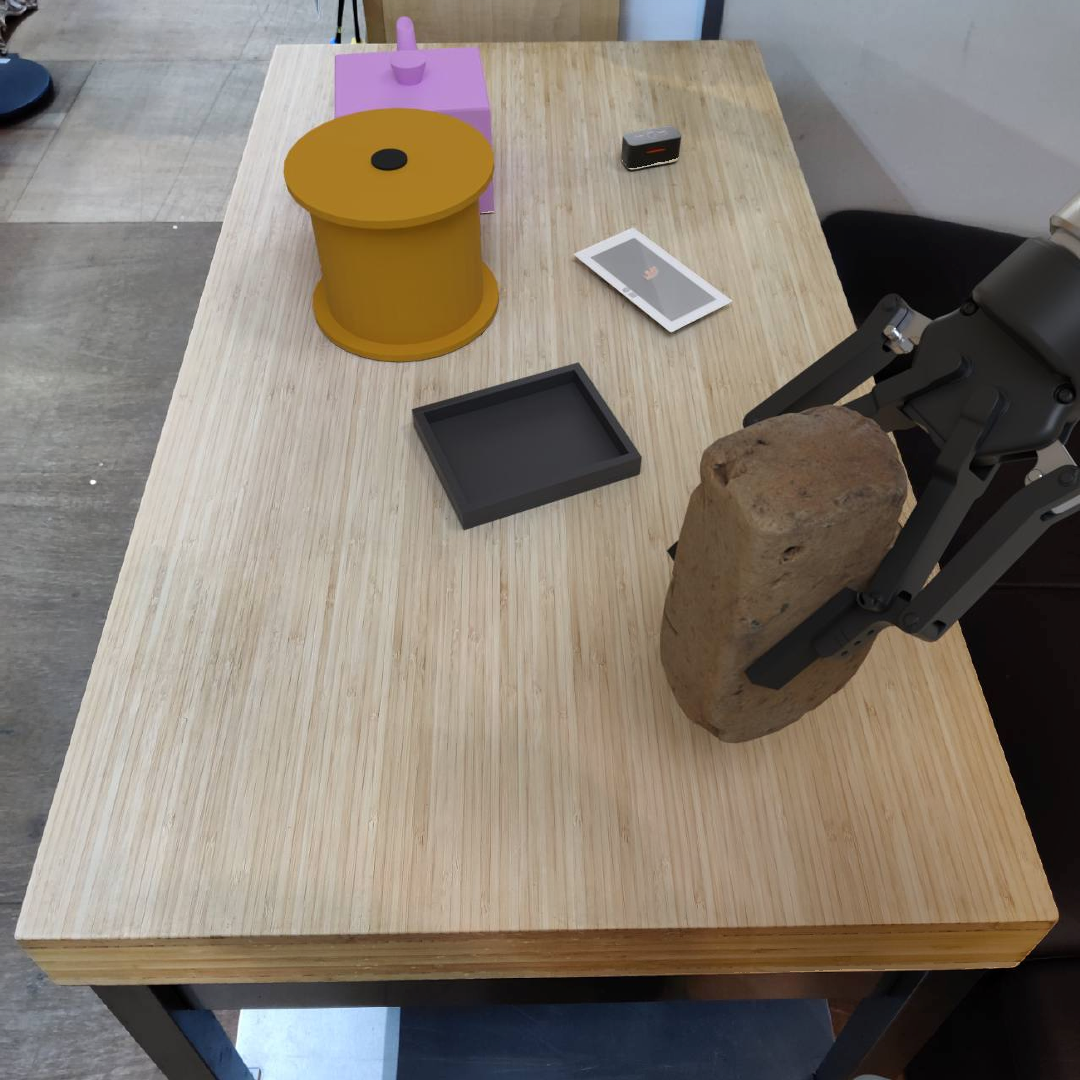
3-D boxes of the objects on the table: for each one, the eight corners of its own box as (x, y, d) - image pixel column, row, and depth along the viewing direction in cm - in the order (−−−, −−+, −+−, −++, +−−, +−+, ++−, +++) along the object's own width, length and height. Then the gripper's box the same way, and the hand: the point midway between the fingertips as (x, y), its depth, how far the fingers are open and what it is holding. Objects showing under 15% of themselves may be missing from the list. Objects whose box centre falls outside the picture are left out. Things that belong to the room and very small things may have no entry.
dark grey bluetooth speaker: (686, 162, 112) (690, 135, 109) (628, 173, 110) (630, 146, 108) (670, 142, 114) (673, 115, 112) (613, 152, 113) (614, 125, 110)
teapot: (477, 118, 118) (472, -6, 107) (498, 240, 102) (494, 109, 91) (350, 125, 116) (331, 1, 105) (352, 250, 101) (329, 119, 90)
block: (695, 765, 55) (757, 542, 40) (643, 657, 60) (681, 419, 44) (863, 709, 58) (985, 478, 42) (801, 610, 62) (890, 367, 46)
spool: (481, 236, 103) (474, 96, 91) (515, 347, 92) (512, 204, 80) (307, 257, 100) (277, 116, 88) (320, 374, 89) (288, 230, 77)
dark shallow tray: (640, 474, 82) (642, 456, 80) (463, 530, 78) (462, 513, 76) (577, 379, 89) (578, 361, 87) (413, 426, 85) (411, 408, 83)
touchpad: (632, 236, 103) (633, 218, 101) (731, 310, 95) (734, 292, 93) (572, 263, 100) (573, 244, 98) (669, 341, 92) (672, 323, 91)
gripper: (1305, 471, 39) (863, 790, 48) (978, 207, 51) (669, 501, 60) (1287, 410, 34) (792, 782, 43) (926, 130, 46) (594, 466, 54)
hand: (721, 618), depth 51 cm, fingers closed on block, 7 cm apart
